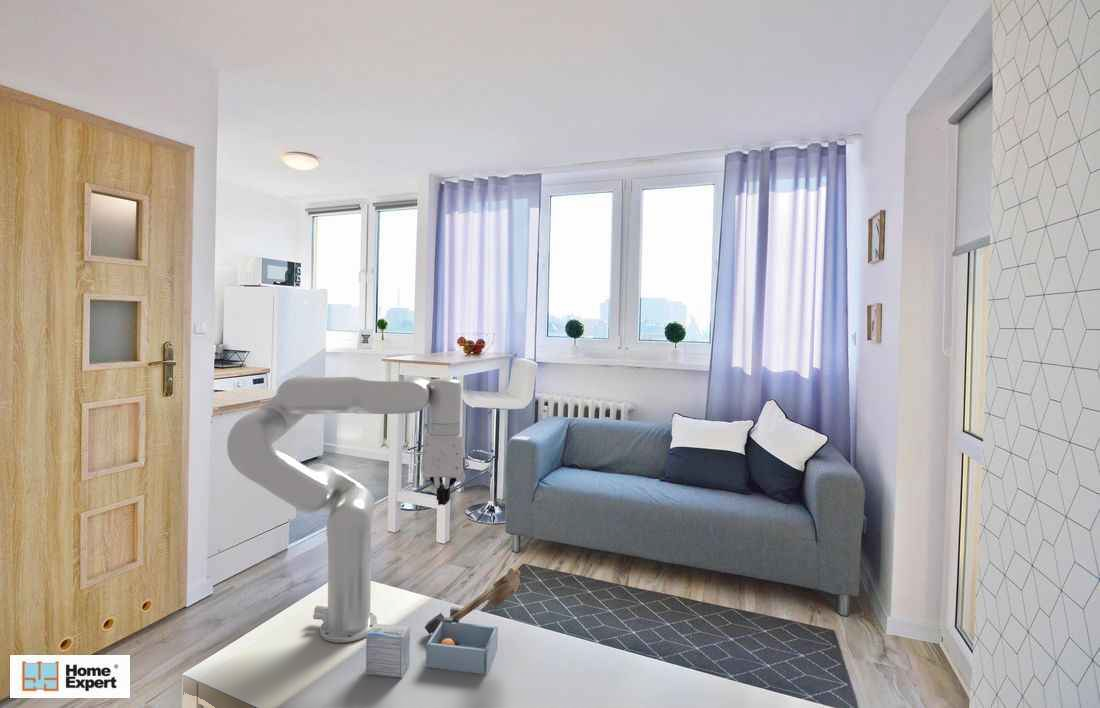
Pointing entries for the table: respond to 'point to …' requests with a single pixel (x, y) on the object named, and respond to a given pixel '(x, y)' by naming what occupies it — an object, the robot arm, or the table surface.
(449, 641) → the ball
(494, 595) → the lever
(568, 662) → the table surface
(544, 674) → the table surface
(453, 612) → the fulcrum
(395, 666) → the medicine box
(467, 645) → the bin
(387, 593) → the table surface
